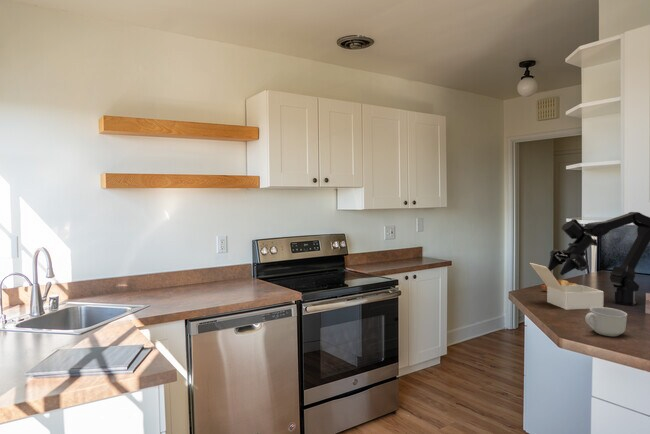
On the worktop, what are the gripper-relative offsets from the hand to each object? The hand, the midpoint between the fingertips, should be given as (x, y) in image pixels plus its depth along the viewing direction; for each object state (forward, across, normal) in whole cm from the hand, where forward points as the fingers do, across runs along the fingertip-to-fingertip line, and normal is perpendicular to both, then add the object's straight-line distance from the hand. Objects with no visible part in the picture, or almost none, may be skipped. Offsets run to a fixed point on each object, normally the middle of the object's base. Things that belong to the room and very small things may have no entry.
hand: (554, 272), depth 192 cm
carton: (+4, 0, -16) cm, 17 cm away
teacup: (+15, -40, -5) cm, 43 cm away
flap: (+3, 0, +1) cm, 3 cm away
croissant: (-3, +23, -24) cm, 33 cm away
